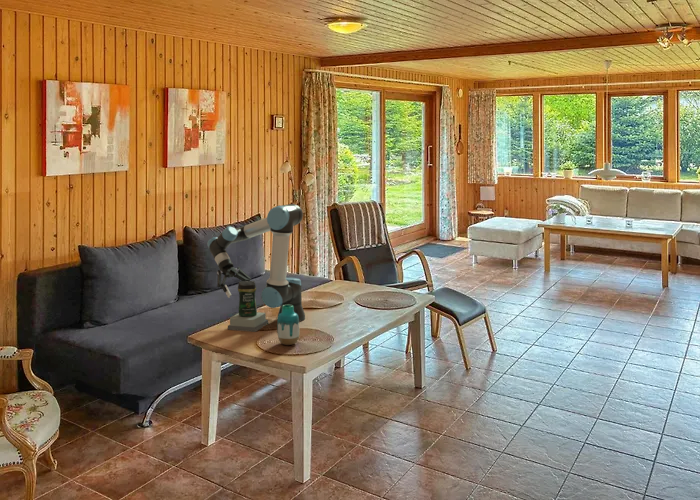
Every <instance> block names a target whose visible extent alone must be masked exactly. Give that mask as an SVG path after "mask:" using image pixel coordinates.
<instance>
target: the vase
mask: <svg viewBox="0 0 700 500" xmlns="http://www.w3.org/2000/svg"><path fill="white" fill-rule="evenodd" d="M276 321H277V322H276V323H277V325H276V329H277V331H276V332H277V338H278V341H279V342H280V343H281V344H282V345H286V346H290V345H294V344H296V343H297V342H298V341H299V338H300V321H299V317H298V315H297V313H295V312H294V307H293V305H290V304H287V305H283V306H282V313H280V314H279V315H278V314H277V320H276Z"/></svg>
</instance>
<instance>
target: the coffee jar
mask: <svg viewBox="0 0 700 500" xmlns="http://www.w3.org/2000/svg"><path fill="white" fill-rule="evenodd" d="M256 291H257V285H256V282H255V280H250V281H241V280H240V281H238V285H237V292H238V293H239V295H238V297H239V300H238V301H239V302H238V313H239V316H241V317H250V316H255V315H256V314H257V312H258V309H257V303H256Z"/></svg>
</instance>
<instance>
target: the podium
mask: <svg viewBox="0 0 700 500" xmlns="http://www.w3.org/2000/svg"><path fill="white" fill-rule="evenodd" d="M266 318H267V316H266V312H258V311H257V314H256V315H255V316H250V317H241V316H239V312H238V313H236V314H235V315H233V316H230V317H229V324H228V325H227V330H228V331H229V330H230V331H241V332H251V333H252V332H253V333H255V332H258V331H259V330H261V329H262V328H264V327H265V326H267V325H268V324H269V319H266ZM267 323H268V324H267ZM266 324H267V325H266ZM263 326H264V327H263Z"/></svg>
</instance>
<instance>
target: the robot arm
mask: <svg viewBox="0 0 700 500" xmlns="http://www.w3.org/2000/svg"><path fill="white" fill-rule="evenodd" d="M303 216H304V212H303V209H302V208H301V207H300V206H299V205H298V204H295V203H288V204H281V205H276V206H275V207H272V208H271V209H270V210H269V211H268V213H267V217H265V218H262V219H259V220H256V221H254V222H251V223H249V224H245V225H243V226H240V227H237V228H235V227H234V226H230V225H229V226H226V228H225V229H223V230H222V231H221V233H220V234H219V236H214V237H212V238H210V239H208V241H207V243H206V245H207V247H208V250H209V252H210V253H211V255H212V257H213V259H214V261H215V263H216V264H217V267H218V270H217V271H216V275H217V281H216V282H217V288H220V289H221V290H222V291H223V293H225V294H226V296H227V298H228V299H229V298H231V296H232V293H231V291H230V289H229V287H228V286H227V284H226V281H227V279H230V278H237V279H238V280H240V281H252V278H251V276H249V275H248V274H247V273H246V272H244V271H243V270H242V269H241V267H240V266H237V267H236V268H235V267H234V263H233V261H232V259H231V258H230V256H229V254H228V253H227V249H228V247H229V246H230V245H231V244H235V243H240V242H244V241H247V240H249V239H251V238H254V237H257V236H260V235H262V234H266V233H269V232H271V233H272V244H271V254H270V255H271V256H270V267H269V269H270V270H269V278H268V279H267V280H266V282H265V283H266V285H265V287H264V288H263V289H262V291H261V294H260V295H261V299H262V301H263V302H262V303H264V304H265V306H267V307H268V308H270V309H277V308H279V309H278V313H277V316H278V315H279V314H280V313H282V306H283V305H287V304H290V305H293V307H294V312H295V313H297V315H298V317H299V322H303V321H304V320H305V319H306V314H305V311H304V308H303V301H302V299H303V298H302V286H303V285H302V280H301V279H300V278H297V277H287V271H288V259H289V250H290V249H289V247H290V236H291V234H293V231H294V227H295V226H297V225H299V224H300V223H301V222H302V221H303ZM222 275H223V279H222Z"/></svg>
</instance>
